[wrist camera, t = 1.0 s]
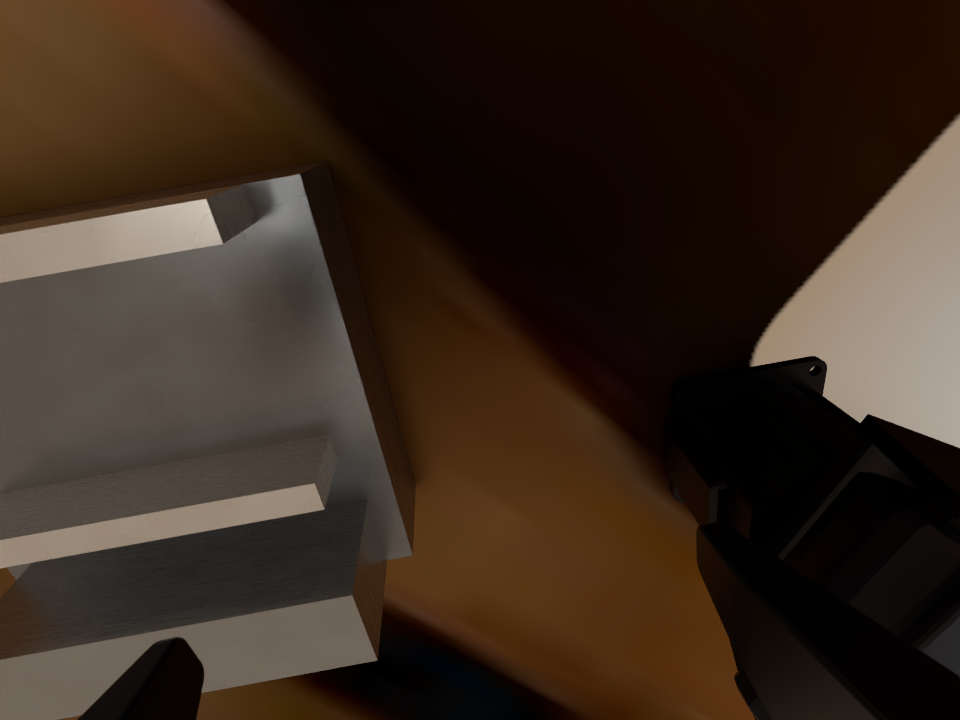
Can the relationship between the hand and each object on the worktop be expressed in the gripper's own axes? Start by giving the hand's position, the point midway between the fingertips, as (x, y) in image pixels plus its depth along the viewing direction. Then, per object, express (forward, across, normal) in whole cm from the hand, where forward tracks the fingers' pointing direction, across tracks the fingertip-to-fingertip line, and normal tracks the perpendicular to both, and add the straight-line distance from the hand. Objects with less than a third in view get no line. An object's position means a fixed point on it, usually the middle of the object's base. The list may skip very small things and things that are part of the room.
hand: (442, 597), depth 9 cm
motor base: (+12, +10, 0) cm, 16 cm away
